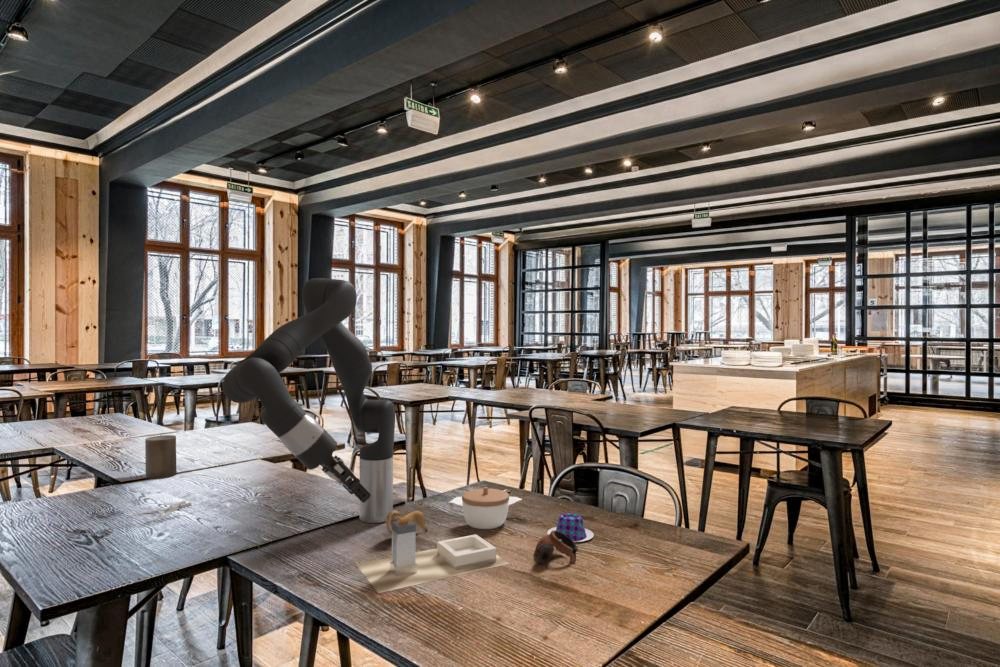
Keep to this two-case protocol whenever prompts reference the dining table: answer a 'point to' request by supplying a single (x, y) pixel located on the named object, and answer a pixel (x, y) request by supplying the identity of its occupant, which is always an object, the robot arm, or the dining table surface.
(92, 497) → the dining table surface
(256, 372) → the robot arm
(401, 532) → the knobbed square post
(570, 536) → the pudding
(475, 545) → the box
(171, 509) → the pliers
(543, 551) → the pottery mug
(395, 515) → the lion figurine
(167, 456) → the pillar candle
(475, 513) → the lidded bowl
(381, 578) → the board
